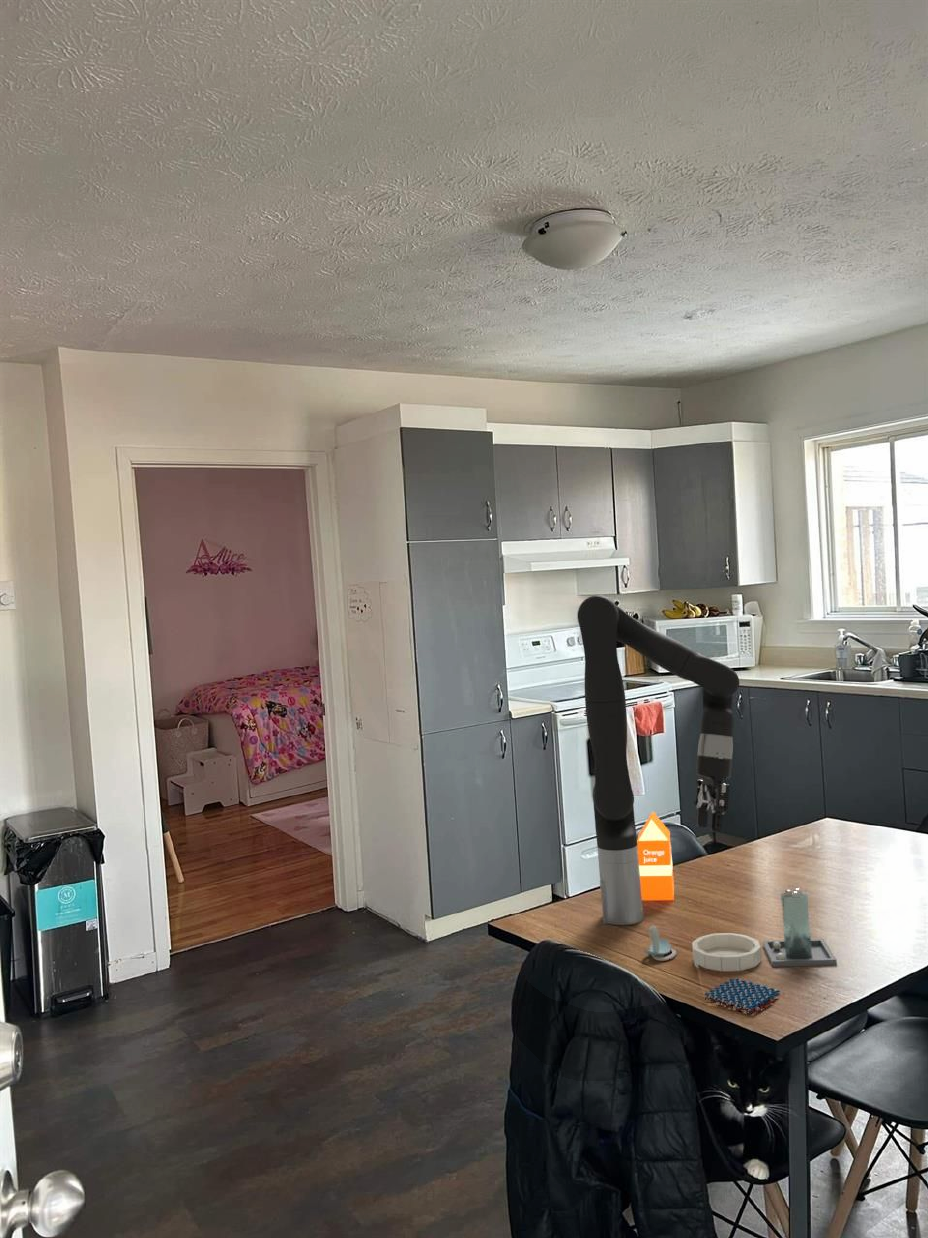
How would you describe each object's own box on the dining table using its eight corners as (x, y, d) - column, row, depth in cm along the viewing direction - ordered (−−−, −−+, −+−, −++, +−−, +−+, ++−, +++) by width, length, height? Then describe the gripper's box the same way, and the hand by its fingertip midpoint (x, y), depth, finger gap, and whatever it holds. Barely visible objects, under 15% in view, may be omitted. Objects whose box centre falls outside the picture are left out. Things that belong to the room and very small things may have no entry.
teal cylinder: (788, 960, 189) (782, 894, 189) (783, 950, 194) (778, 886, 194) (814, 959, 188) (809, 893, 188) (809, 950, 193) (803, 885, 193)
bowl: (697, 976, 187) (695, 958, 187) (691, 951, 200) (689, 934, 200) (766, 974, 185) (764, 956, 185) (755, 949, 198) (754, 932, 198)
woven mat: (753, 1020, 168) (752, 1009, 168) (702, 1004, 176) (701, 993, 176) (785, 1000, 174) (784, 989, 174) (734, 986, 182) (733, 975, 182)
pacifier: (681, 953, 200) (654, 948, 204) (679, 923, 200) (653, 919, 203) (667, 965, 194) (640, 960, 198) (666, 935, 194) (638, 930, 197)
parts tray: (772, 970, 187) (771, 957, 186) (763, 949, 197) (762, 937, 197) (837, 969, 185) (836, 955, 185) (824, 947, 196) (823, 935, 196)
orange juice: (641, 900, 235) (634, 819, 235) (643, 889, 243) (637, 810, 243) (674, 900, 233) (667, 818, 233) (675, 888, 242) (668, 809, 241)
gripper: (687, 752, 222) (681, 823, 220) (710, 755, 208) (703, 831, 206) (718, 756, 223) (712, 827, 221) (743, 759, 208) (737, 834, 207)
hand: (708, 829), depth 213 cm, fingers open, 8 cm apart
